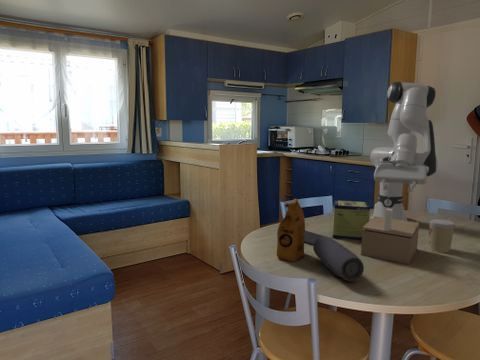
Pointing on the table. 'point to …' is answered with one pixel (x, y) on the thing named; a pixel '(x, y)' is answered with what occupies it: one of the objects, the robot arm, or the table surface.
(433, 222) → the coffee cup
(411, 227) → the carton lid
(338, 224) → the protein box
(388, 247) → the carton
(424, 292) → the table surface
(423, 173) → the robot arm
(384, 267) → the table surface
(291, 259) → the coffee package
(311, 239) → the notebook
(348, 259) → the bluetooth speaker
